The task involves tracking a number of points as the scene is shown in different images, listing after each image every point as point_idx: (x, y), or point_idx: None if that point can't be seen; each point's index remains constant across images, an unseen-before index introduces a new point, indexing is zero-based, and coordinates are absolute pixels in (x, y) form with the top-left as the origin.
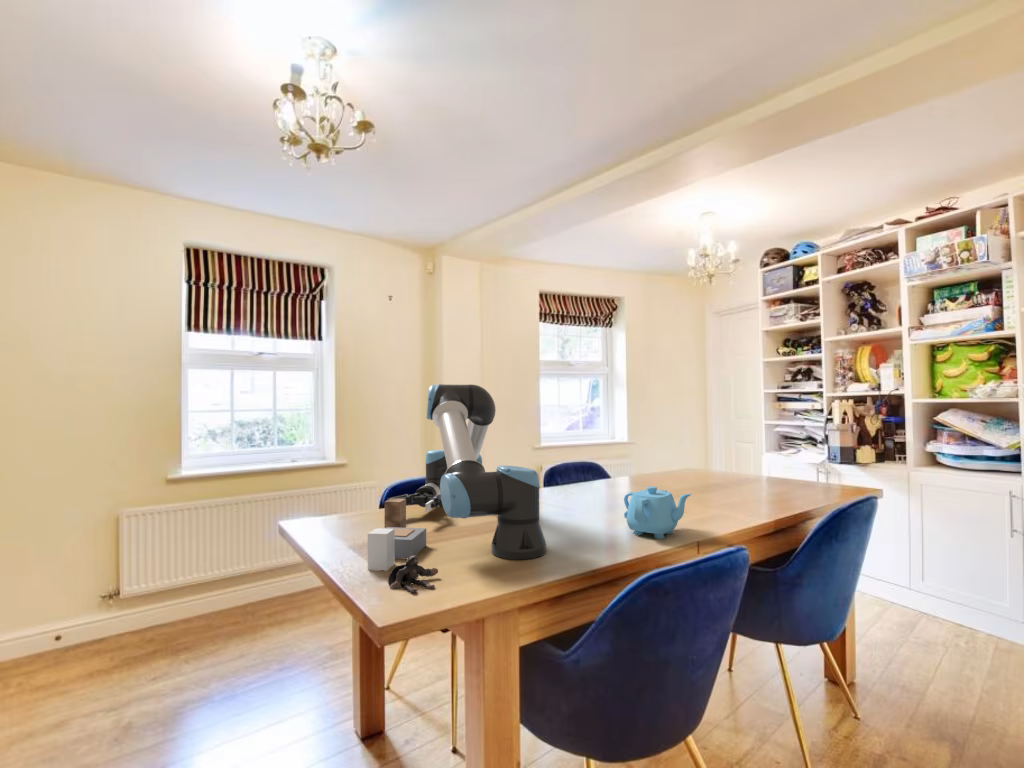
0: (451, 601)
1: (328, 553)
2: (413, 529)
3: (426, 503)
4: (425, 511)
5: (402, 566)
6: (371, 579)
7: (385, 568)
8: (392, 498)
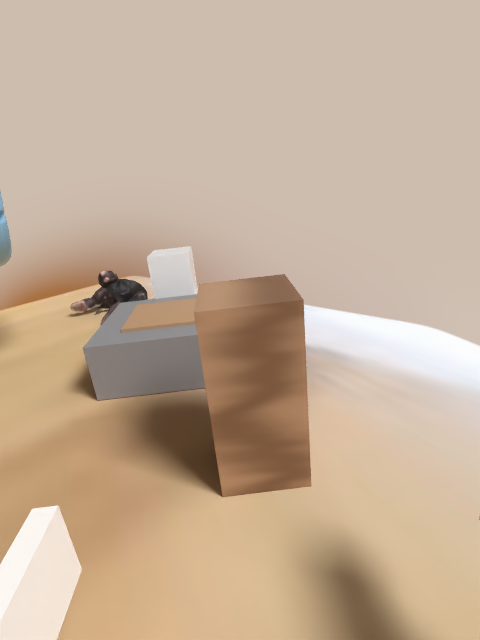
0: (62, 297)
1: (343, 325)
2: (125, 327)
3: (43, 524)
4: (79, 563)
5: (123, 281)
6: None
7: None
8: (291, 300)
